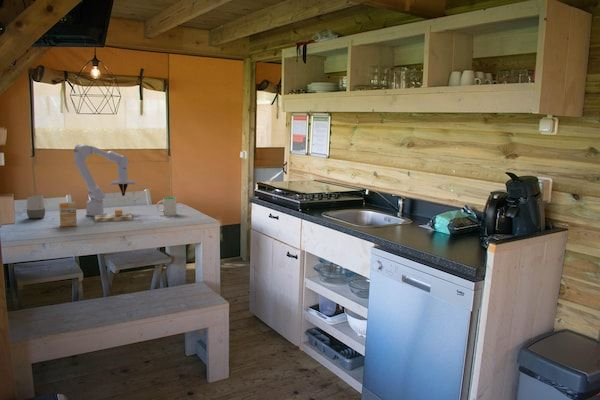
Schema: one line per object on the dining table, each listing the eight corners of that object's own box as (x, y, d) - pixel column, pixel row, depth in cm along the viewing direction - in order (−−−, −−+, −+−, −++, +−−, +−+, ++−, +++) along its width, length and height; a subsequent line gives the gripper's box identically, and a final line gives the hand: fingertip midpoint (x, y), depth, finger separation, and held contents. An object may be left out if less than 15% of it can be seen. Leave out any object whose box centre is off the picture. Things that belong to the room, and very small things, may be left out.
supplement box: (60, 227, 263) (59, 203, 261) (60, 225, 268) (59, 202, 266) (77, 225, 267) (76, 202, 265) (76, 224, 271) (75, 201, 269)
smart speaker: (40, 216, 292) (38, 193, 290) (48, 217, 287) (47, 194, 285) (24, 218, 284) (22, 194, 282) (32, 220, 279) (31, 196, 277)
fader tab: (115, 215, 285) (115, 210, 285) (115, 214, 289) (114, 209, 288) (122, 215, 287) (122, 210, 286) (122, 214, 290) (121, 209, 290)
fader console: (94, 221, 279) (94, 218, 278) (94, 218, 288) (94, 215, 287) (131, 219, 286) (131, 216, 286) (130, 216, 295) (130, 213, 295)
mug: (158, 216, 299) (158, 199, 297) (155, 214, 306) (155, 197, 304) (178, 214, 305) (177, 198, 303) (174, 212, 312) (174, 196, 310)
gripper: (110, 175, 301) (111, 197, 303) (135, 175, 307) (135, 196, 309) (110, 174, 308) (111, 195, 310) (134, 173, 313) (135, 194, 315)
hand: (123, 195), depth 310 cm, fingers closed
